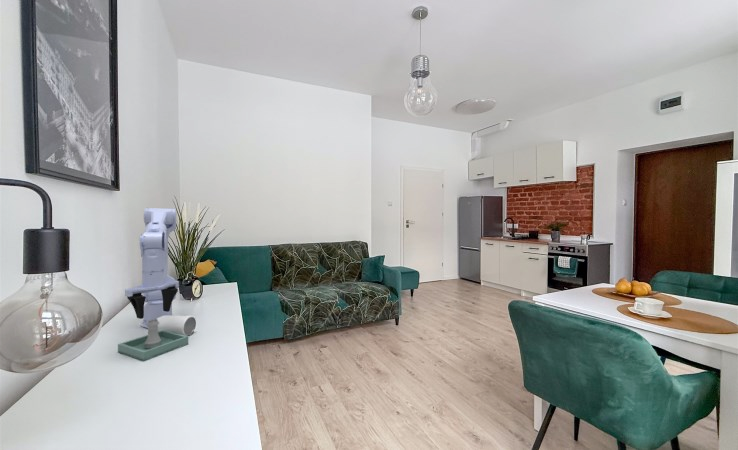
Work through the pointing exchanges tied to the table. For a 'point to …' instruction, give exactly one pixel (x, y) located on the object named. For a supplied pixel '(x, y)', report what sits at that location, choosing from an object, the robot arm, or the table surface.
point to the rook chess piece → (152, 335)
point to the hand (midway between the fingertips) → (153, 314)
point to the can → (177, 324)
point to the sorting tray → (141, 353)
